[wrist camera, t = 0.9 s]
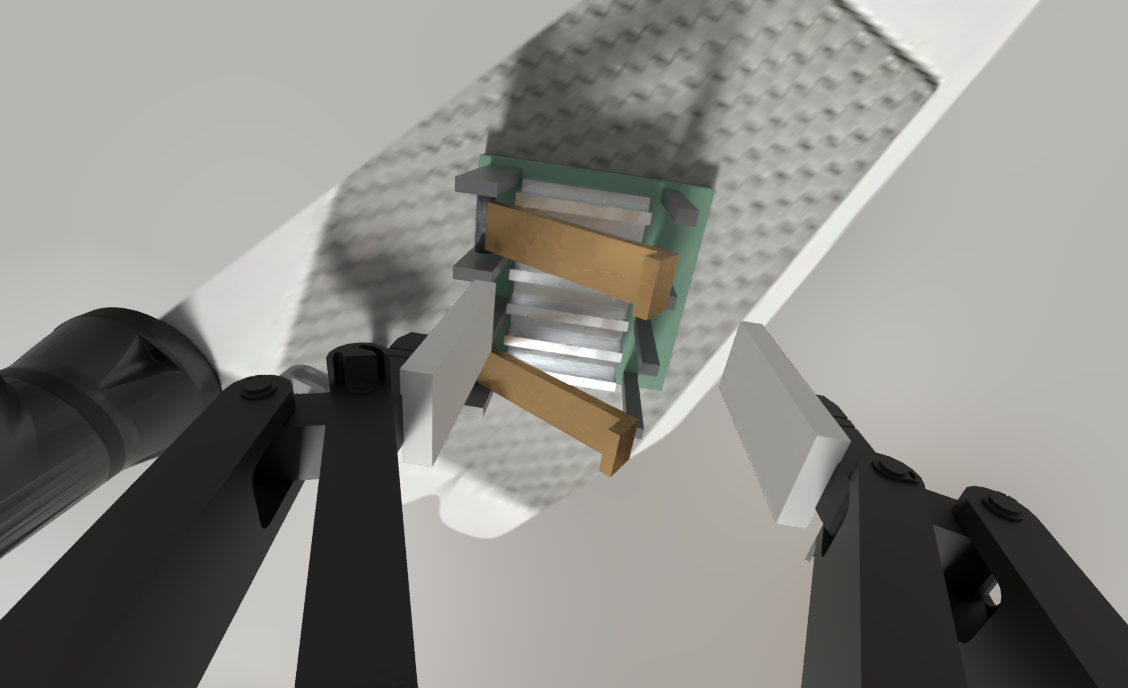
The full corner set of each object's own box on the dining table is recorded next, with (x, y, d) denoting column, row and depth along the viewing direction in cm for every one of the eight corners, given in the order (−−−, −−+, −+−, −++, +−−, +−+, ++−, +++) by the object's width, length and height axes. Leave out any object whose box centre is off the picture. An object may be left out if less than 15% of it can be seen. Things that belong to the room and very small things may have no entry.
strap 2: (477, 375, 35) (452, 386, 34) (479, 333, 34) (454, 342, 32) (629, 461, 29) (609, 481, 27) (641, 414, 27) (620, 431, 25)
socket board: (474, 353, 42) (470, 360, 41) (484, 153, 34) (479, 154, 33) (659, 382, 42) (661, 391, 40) (710, 187, 34) (714, 189, 33)
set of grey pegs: (479, 357, 40) (449, 412, 33) (490, 163, 33) (455, 175, 26) (635, 382, 40) (641, 443, 32) (679, 191, 33) (701, 212, 25)
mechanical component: (332, 323, 42) (256, 378, 33) (434, 374, 43) (389, 441, 34) (323, 348, 43) (248, 408, 34) (423, 397, 45) (377, 467, 36)
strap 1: (483, 247, 31) (456, 252, 29) (486, 192, 29) (457, 194, 28) (666, 314, 24) (645, 326, 22) (683, 247, 23) (661, 254, 21)
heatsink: (510, 357, 40) (500, 380, 36) (526, 176, 33) (516, 183, 30) (612, 373, 40) (613, 398, 36) (649, 195, 33) (654, 203, 30)
